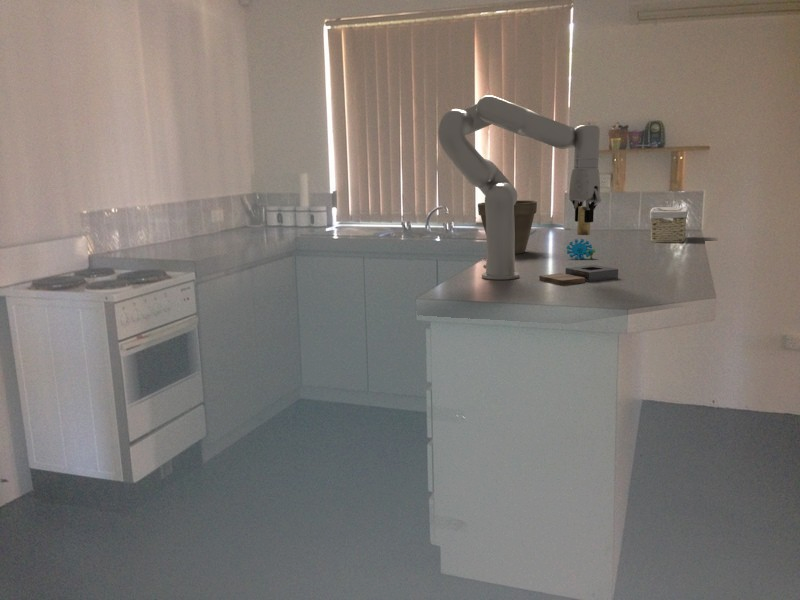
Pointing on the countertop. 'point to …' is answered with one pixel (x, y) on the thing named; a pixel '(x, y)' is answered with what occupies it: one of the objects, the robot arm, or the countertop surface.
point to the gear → (580, 249)
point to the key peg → (582, 222)
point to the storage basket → (668, 224)
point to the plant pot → (517, 221)
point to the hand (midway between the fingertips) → (583, 221)
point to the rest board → (562, 279)
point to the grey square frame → (593, 272)
